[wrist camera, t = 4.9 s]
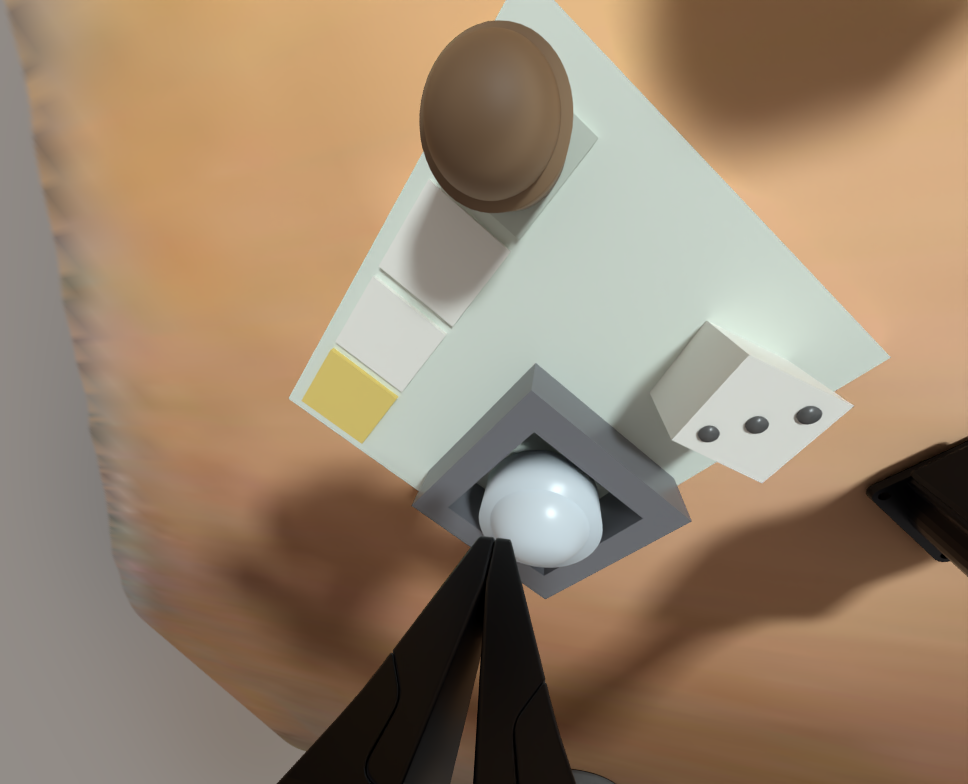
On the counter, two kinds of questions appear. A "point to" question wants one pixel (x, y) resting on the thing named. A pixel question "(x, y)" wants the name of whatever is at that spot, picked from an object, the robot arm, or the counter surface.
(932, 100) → the counter surface
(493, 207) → the pawn
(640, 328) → the board
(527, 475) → the dome
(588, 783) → the mug
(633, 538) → the base
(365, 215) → the counter surface
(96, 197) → the counter surface
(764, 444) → the die
